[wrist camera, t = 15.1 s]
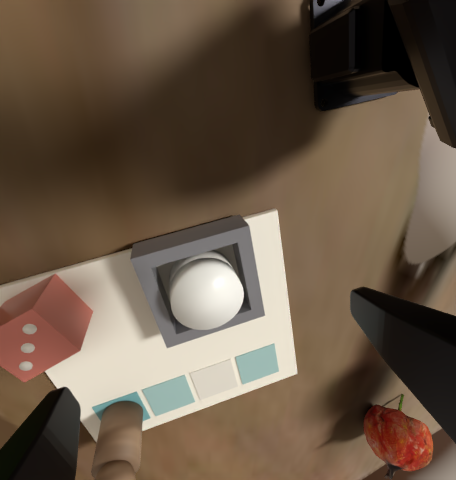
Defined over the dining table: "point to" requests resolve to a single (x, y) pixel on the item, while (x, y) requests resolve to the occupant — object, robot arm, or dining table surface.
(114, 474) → the pawn
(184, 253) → the dome housing
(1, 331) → the die
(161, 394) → the board
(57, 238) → the dining table surface
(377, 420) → the pomegranate
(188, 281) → the dome
